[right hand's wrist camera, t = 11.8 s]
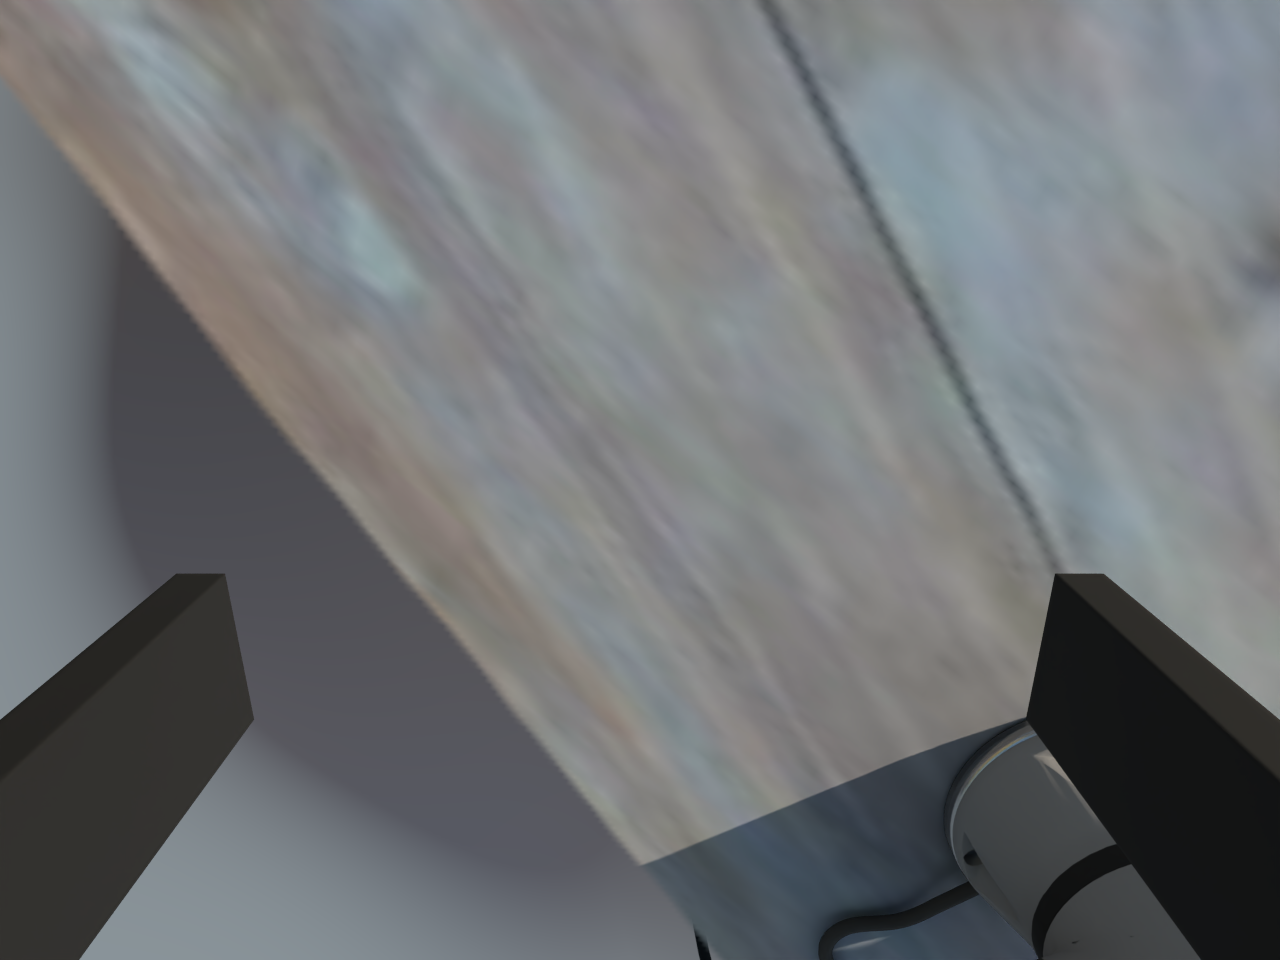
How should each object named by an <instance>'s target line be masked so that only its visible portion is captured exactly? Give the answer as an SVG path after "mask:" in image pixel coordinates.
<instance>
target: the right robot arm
mask: <svg viewBox="0 0 1280 960" xmlns="http://www.w3.org/2000/svg"><path fill="white" fill-rule="evenodd" d="M253 720H254V717H253V712H252V707H251V702H250V697H249V692H248V687H247V682H246V677H245V672H244V667H243V662H242V657H241V652H240V647H239V642H238V637H237V632H236V627H235V622H234V617H233V612H232V607H231V602H230V597H229V592H228V587H227V582H226V577H225V574H176V575H174V576H173V577H172V578H171V579H170V580H168V581H167V582H166V583H165V584H163V585H162V586H161V587H160V588H159V589H157V590H156V591H155V592H154V593H153V594H151V595H150V596H149V597H148V598H147V599H145V600H144V601H143V602H142V603H141V604H139V605H138V606H137V607H136V608H135V609H133V610H132V611H131V612H130V613H129V614H127V615H126V616H125V617H124V618H123V619H121V620H120V621H119V622H118V623H116V624H115V625H114V626H113V627H112V628H110V629H109V630H108V631H107V632H106V633H104V634H103V635H102V636H101V637H100V638H98V639H97V640H96V641H95V642H94V643H92V644H91V645H90V646H89V647H87V648H86V649H85V650H84V651H83V652H81V653H80V654H79V655H78V656H77V657H75V658H74V659H73V660H72V661H71V662H69V663H68V664H67V665H66V666H65V667H63V668H62V669H61V670H60V671H59V672H57V673H56V674H55V675H54V676H53V677H51V678H50V679H49V680H48V681H47V682H45V683H44V684H43V685H42V686H41V687H39V688H38V689H37V690H36V691H35V692H33V693H32V694H31V695H30V696H28V697H27V698H26V699H25V700H24V701H22V702H21V703H20V704H19V705H18V706H16V707H15V708H14V709H13V710H12V711H10V712H9V713H8V714H7V715H6V716H4V717H3V718H2V719H1V720H0V960H79V959H80V958H81V956H82V955H83V954H84V952H85V951H86V949H87V948H88V947H89V945H90V944H91V943H92V941H93V940H94V939H95V937H96V936H97V934H98V933H99V932H100V930H101V929H102V928H103V926H104V925H105V923H106V922H107V921H108V919H109V918H110V916H111V915H112V914H113V912H114V911H115V910H116V908H117V907H118V906H119V904H120V903H121V901H122V900H123V899H124V897H125V896H126V895H127V893H128V892H129V890H130V889H131V888H132V886H133V885H134V884H135V882H136V881H137V879H138V878H139V877H140V875H141V874H142V873H143V871H144V870H145V868H146V867H147V866H148V864H149V863H150V862H151V860H152V859H153V857H154V856H155V855H156V853H157V852H158V851H159V849H160V848H161V846H162V845H163V844H164V842H165V841H166V840H167V838H168V837H169V835H170V834H171V833H172V831H173V830H174V829H175V827H176V826H177V825H178V823H179V822H180V820H181V819H182V818H183V816H184V815H185V814H186V812H187V811H188V809H189V808H190V807H191V805H192V804H193V803H194V801H195V800H196V798H197V797H198V796H199V794H200V793H201V792H202V790H203V789H204V787H205V786H206V785H207V783H208V782H209V781H210V779H211V778H212V776H213V775H214V774H215V772H216V771H217V769H218V768H219V767H220V765H221V764H222V763H223V761H224V760H225V758H226V757H227V756H228V754H229V753H230V752H231V750H232V749H233V748H234V746H235V745H236V743H237V742H238V741H239V739H240V738H241V737H242V735H243V734H244V732H245V731H246V730H247V728H248V727H249V725H250V724H251V723H252V721H253ZM1026 720H1027V721H1025V722H1022V723H1020V724H1018V725H1015V726H1013V727H1012V728H1010V729H1008V730H1006V731H1004V732H1002V733H1001V734H999V735H998V736H996V737H994V738H993V739H992V740H990V741H989V742H988V743H986V744H985V745H984V746H983V747H982V748H980V749H979V750H978V751H977V752H976V753H975V754H974V755H973V756H972V757H971V758H970V759H969V760H968V762H967V763H966V764H965V765H964V767H963V768H962V769H961V771H960V772H959V774H958V775H957V777H956V779H955V781H954V783H953V784H952V786H951V789H950V792H949V794H948V797H947V801H946V805H945V812H944V827H945V833H946V838H947V841H948V844H949V846H950V849H951V851H952V853H953V855H954V857H955V859H956V861H957V864H958V865H959V867H960V869H961V871H962V872H963V874H964V875H965V877H966V878H967V879H968V882H966V883H964V884H962V885H960V886H958V887H956V888H954V889H952V890H950V891H948V892H946V893H943V894H941V895H939V896H937V897H935V898H933V899H931V900H929V901H927V902H925V903H923V904H921V905H919V906H917V907H915V908H912V909H910V910H907V911H904V912H900V913H896V914H891V915H880V916H863V917H854V918H849V919H845V920H843V921H840V922H838V923H836V924H835V925H833V926H832V927H831V928H829V929H828V930H827V931H826V932H825V934H824V935H823V936H822V938H821V940H820V943H819V959H820V960H833V957H832V950H833V947H834V945H835V944H836V943H837V942H838V941H839V940H840V939H841V938H843V937H845V936H847V935H849V934H853V933H858V932H866V931H884V930H894V929H900V928H904V927H908V926H911V925H914V924H917V923H919V922H922V921H924V920H926V919H928V918H930V917H932V916H934V915H936V914H938V913H940V912H943V911H945V910H947V909H949V908H951V907H953V906H955V905H958V904H960V903H962V902H964V901H966V900H968V899H970V898H972V897H974V896H977V895H979V894H980V895H981V896H982V897H983V898H984V899H985V900H986V901H987V902H988V903H989V904H990V905H991V906H992V907H993V908H994V909H995V910H996V911H997V912H998V913H999V914H1000V915H1001V916H1002V917H1003V918H1004V919H1005V920H1006V921H1007V922H1008V923H1009V924H1010V925H1011V926H1012V927H1013V928H1014V929H1015V930H1016V931H1017V932H1018V933H1019V934H1020V935H1021V936H1022V937H1023V938H1024V939H1025V941H1026V942H1027V943H1028V944H1029V945H1030V946H1031V947H1032V948H1033V949H1034V951H1035V953H1036V954H1037V956H1038V958H1039V959H1037V960H1280V720H1279V719H1278V718H1277V717H1276V716H1274V715H1273V714H1272V713H1271V712H1270V711H1268V710H1267V709H1266V708H1265V707H1264V706H1262V705H1261V704H1260V703H1259V702H1258V701H1256V700H1255V699H1254V698H1253V697H1252V696H1250V695H1249V694H1248V693H1247V692H1246V691H1244V690H1243V689H1242V688H1241V687H1240V686H1238V685H1237V684H1236V683H1235V682H1233V681H1232V680H1231V679H1230V678H1229V677H1227V676H1226V675H1225V674H1224V673H1223V672H1221V671H1220V670H1219V669H1218V668H1217V667H1215V666H1214V665H1213V664H1212V663H1211V662H1209V661H1208V660H1207V659H1206V658H1205V657H1203V656H1202V655H1201V654H1200V653H1199V652H1197V651H1196V650H1195V649H1194V648H1193V647H1191V646H1190V645H1189V644H1188V643H1186V642H1185V641H1184V640H1183V639H1182V638H1180V637H1179V636H1178V635H1177V634H1176V633H1174V632H1173V631H1172V630H1171V629H1170V628H1168V627H1167V626H1166V625H1165V624H1164V623H1162V622H1161V621H1160V620H1159V619H1158V618H1156V617H1155V616H1154V615H1153V614H1152V613H1150V612H1149V611H1148V610H1147V609H1145V608H1144V607H1143V606H1142V605H1141V604H1139V603H1138V602H1137V601H1136V600H1135V599H1133V598H1132V597H1131V596H1130V595H1129V594H1127V593H1126V592H1125V591H1124V590H1123V589H1121V588H1120V587H1119V586H1118V585H1117V584H1115V583H1114V582H1113V581H1112V580H1111V579H1109V578H1108V577H1107V576H1106V575H1104V574H1055V577H1054V582H1053V587H1052V592H1051V597H1050V602H1049V607H1048V612H1047V617H1046V622H1045V627H1044V632H1043V637H1042V642H1041V647H1040V652H1039V657H1038V662H1037V667H1036V672H1035V677H1034V682H1033V687H1032V692H1031V697H1030V702H1029V707H1028V712H1027V717H1026ZM694 933H695V938H696V944H697V949H698V954H699V958H700V960H712V959H711V955H710V952H709V947H708V944H707V943H706V942H705V941H704V940H703V938H702V937H701V936H700V935H699V934H698V932H697V931H696V930H694Z"/></svg>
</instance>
